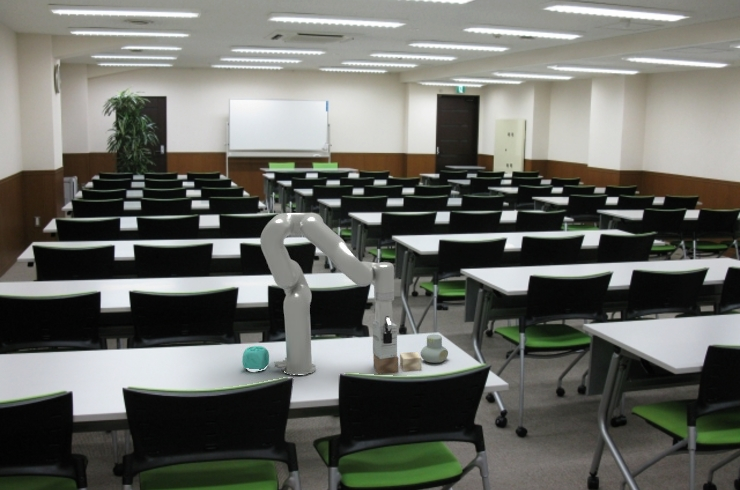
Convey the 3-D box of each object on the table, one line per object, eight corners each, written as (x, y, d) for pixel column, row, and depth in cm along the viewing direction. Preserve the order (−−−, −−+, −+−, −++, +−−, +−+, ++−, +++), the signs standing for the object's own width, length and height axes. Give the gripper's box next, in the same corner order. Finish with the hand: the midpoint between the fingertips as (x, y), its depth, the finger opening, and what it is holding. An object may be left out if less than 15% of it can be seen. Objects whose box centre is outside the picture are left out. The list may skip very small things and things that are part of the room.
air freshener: (435, 366, 280) (435, 341, 278) (417, 362, 285) (417, 338, 283) (450, 359, 288) (450, 334, 287) (432, 355, 293) (432, 331, 291)
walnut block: (377, 374, 273) (377, 359, 272) (373, 367, 281) (373, 352, 280) (398, 372, 275) (398, 357, 273) (393, 365, 282) (393, 350, 281)
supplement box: (372, 353, 278) (372, 321, 276) (390, 351, 281) (390, 319, 279) (379, 359, 272) (379, 326, 269) (397, 357, 274) (397, 324, 272)
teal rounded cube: (262, 373, 276) (261, 353, 275) (242, 372, 278) (241, 352, 276) (269, 366, 284) (268, 346, 282) (250, 364, 285) (249, 345, 284)
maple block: (402, 371, 276) (402, 358, 275) (400, 365, 283) (400, 353, 282) (421, 370, 277) (421, 357, 276) (417, 364, 283) (417, 352, 283)
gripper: (369, 290, 280) (370, 333, 283) (379, 302, 263) (380, 347, 266) (388, 289, 281) (389, 332, 284) (399, 300, 265) (399, 345, 268)
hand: (384, 339), depth 275 cm, fingers open, 9 cm apart
